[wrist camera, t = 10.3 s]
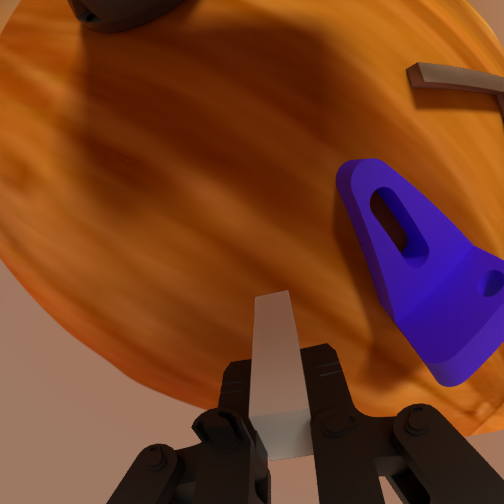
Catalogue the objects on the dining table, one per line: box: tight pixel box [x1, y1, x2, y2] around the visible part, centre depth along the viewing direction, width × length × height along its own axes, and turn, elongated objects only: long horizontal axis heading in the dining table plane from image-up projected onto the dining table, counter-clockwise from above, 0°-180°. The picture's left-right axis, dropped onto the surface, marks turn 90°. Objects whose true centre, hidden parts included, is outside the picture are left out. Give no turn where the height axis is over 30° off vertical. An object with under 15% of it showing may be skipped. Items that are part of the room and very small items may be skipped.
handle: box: [406, 62, 504, 122], centre depth 20 cm, size 28×17×2 cm, turn 14°
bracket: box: [336, 159, 504, 387], centre depth 18 cm, size 18×11×12 cm, turn 44°
